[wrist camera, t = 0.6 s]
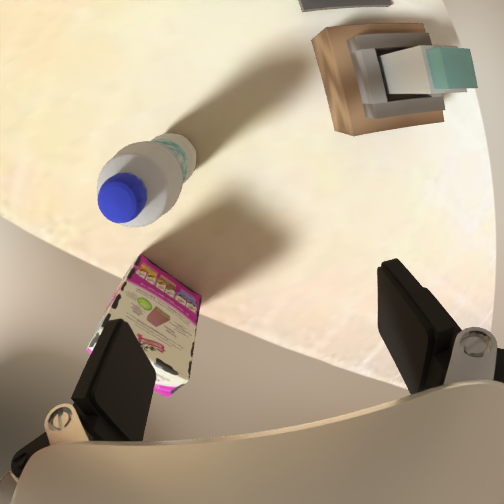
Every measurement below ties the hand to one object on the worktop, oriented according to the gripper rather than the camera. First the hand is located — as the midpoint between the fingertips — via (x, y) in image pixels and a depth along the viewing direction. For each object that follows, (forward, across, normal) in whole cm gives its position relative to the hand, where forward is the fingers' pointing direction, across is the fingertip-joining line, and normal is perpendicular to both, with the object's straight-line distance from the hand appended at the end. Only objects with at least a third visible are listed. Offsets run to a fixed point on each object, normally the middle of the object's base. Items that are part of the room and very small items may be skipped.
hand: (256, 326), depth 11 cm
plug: (+23, -18, -8) cm, 30 cm away
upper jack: (+30, -18, -8) cm, 36 cm away
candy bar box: (+30, +15, +14) cm, 37 cm away
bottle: (+30, +8, -3) cm, 32 cm away
